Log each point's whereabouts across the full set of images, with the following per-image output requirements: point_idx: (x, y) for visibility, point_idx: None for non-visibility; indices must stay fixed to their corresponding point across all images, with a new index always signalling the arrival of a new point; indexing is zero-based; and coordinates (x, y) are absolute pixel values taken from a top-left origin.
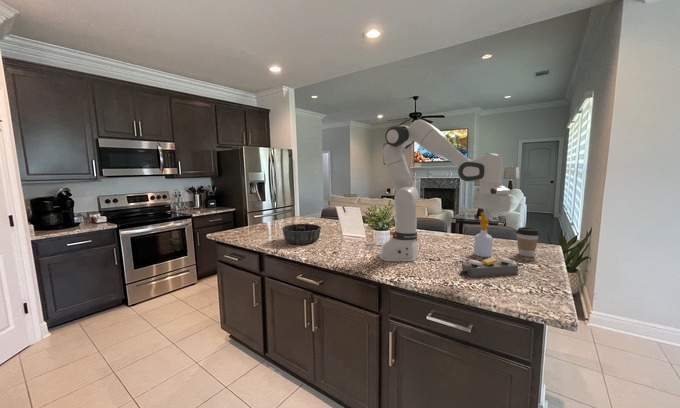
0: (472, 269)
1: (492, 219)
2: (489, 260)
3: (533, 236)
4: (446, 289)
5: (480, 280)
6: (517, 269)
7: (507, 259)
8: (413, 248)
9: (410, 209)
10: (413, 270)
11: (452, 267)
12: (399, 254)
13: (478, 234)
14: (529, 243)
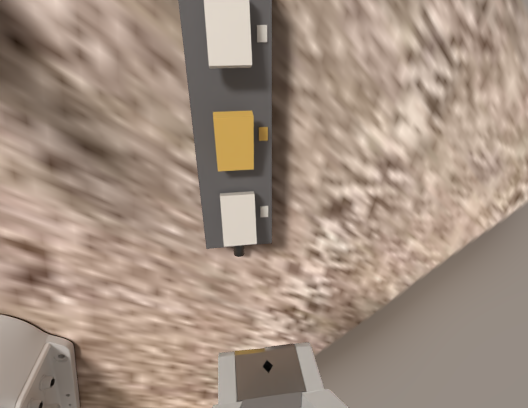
0: (271, 238)
1: (308, 344)
2: (237, 147)
3: None
4: (331, 323)
5: (298, 209)
6: None
7: (235, 21)
8: (28, 386)
9: None
10: (175, 358)
11: (149, 238)
12: (48, 398)
13: None
14: None
